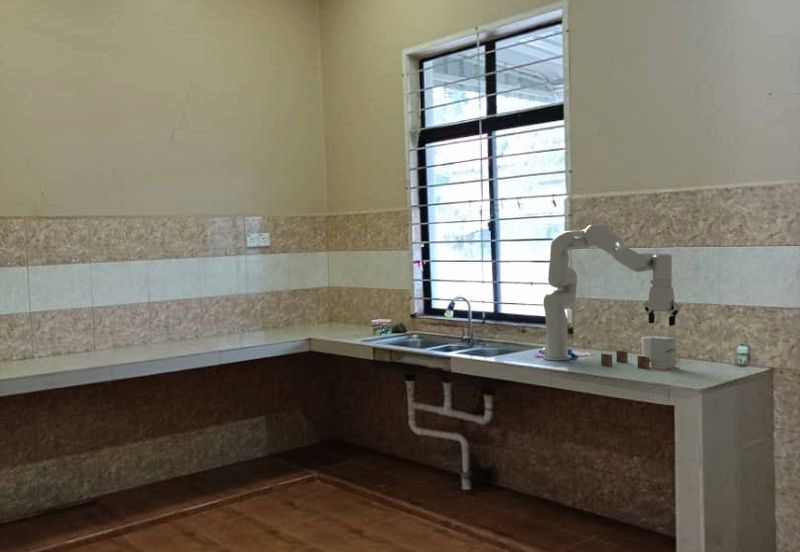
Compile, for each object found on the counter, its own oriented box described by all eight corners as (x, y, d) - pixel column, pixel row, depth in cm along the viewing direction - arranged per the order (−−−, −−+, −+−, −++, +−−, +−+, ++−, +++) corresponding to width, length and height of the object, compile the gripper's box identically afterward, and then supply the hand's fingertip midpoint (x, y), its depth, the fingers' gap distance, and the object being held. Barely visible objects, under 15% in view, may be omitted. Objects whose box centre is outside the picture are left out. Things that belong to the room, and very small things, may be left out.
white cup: (662, 360, 337) (661, 338, 337) (644, 360, 338) (643, 338, 337) (657, 357, 345) (656, 335, 345) (639, 357, 346) (639, 336, 345)
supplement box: (665, 369, 314) (665, 339, 313) (650, 367, 320) (650, 337, 320) (676, 367, 318) (676, 337, 318) (661, 365, 324) (661, 335, 324)
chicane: (601, 365, 331) (601, 353, 331) (625, 359, 342) (625, 348, 341) (640, 370, 316) (640, 358, 315) (664, 365, 326) (664, 353, 325)
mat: (647, 368, 320) (647, 367, 320) (660, 365, 326) (660, 364, 326) (666, 371, 313) (666, 370, 313) (679, 368, 319) (679, 367, 318)
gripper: (638, 283, 322) (638, 323, 323) (675, 285, 308) (674, 327, 309) (649, 281, 326) (649, 321, 328) (685, 284, 313) (685, 325, 314)
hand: (661, 324), depth 319 cm, fingers open, 9 cm apart
